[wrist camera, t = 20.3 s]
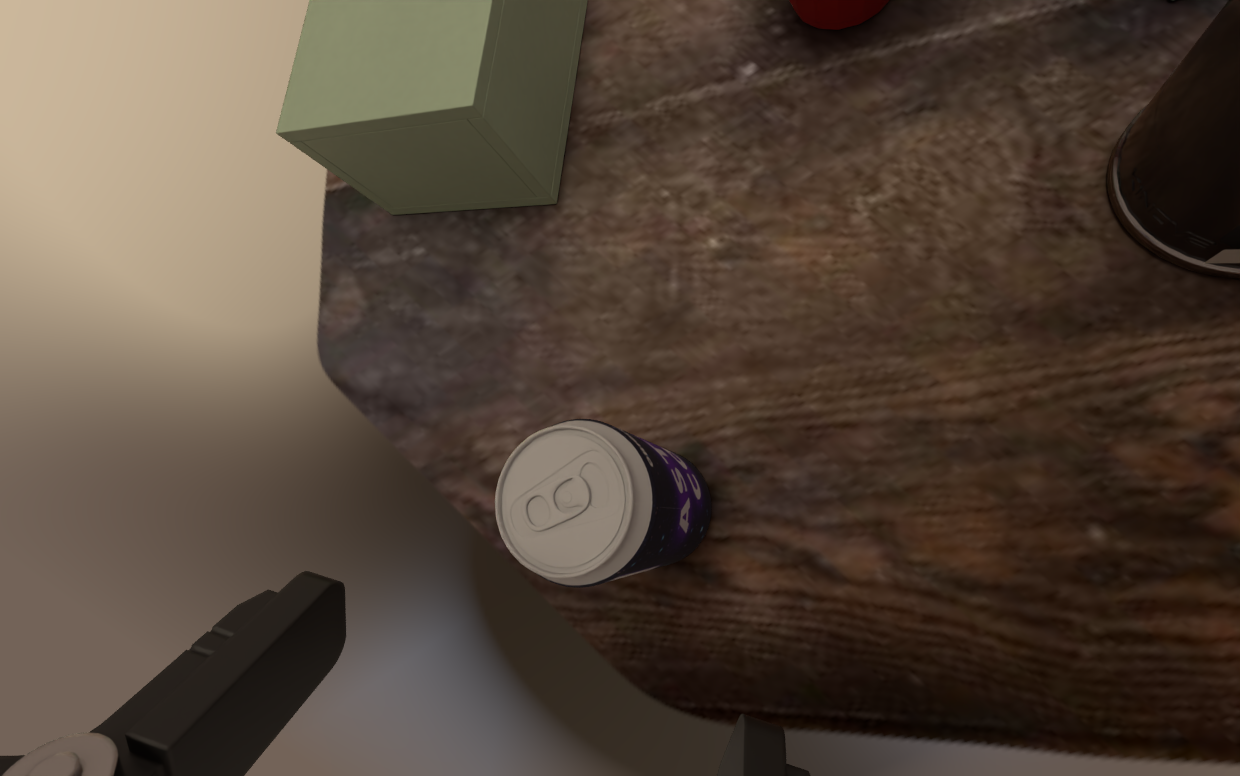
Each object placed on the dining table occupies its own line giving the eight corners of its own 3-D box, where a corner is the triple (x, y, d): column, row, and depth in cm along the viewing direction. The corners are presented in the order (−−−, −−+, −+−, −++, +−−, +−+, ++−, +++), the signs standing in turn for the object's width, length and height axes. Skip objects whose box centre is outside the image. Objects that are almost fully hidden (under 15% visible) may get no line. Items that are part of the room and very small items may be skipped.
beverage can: (733, 538, 28) (673, 551, 17) (631, 581, 29) (513, 618, 18) (687, 433, 30) (605, 384, 19) (593, 478, 31) (465, 455, 20)
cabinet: (430, 32, 43) (331, -90, 34) (588, 0, 38) (519, -148, 30) (392, 215, 40) (275, 133, 32) (557, 204, 36) (472, 105, 27)
